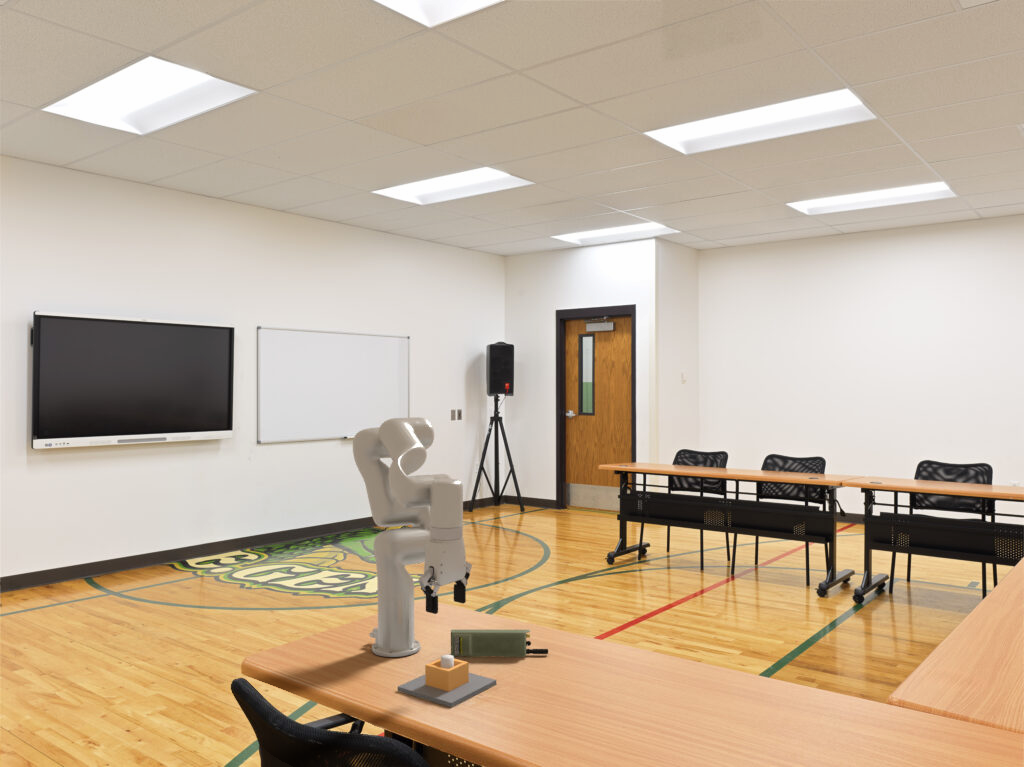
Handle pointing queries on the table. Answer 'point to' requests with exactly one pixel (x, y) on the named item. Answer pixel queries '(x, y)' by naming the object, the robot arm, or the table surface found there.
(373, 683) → the table surface
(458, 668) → the orange open box
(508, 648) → the handheld radio
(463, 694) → the plate
